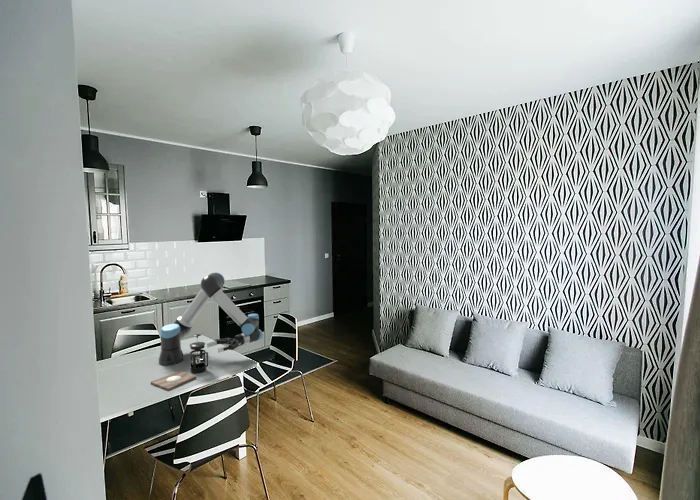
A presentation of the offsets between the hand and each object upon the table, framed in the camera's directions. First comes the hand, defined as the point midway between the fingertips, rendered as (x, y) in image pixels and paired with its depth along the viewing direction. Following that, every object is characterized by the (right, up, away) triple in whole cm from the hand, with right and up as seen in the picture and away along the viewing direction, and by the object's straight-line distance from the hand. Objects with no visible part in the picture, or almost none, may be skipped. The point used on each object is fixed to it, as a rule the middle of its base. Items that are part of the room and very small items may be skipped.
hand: (212, 347), depth 231 cm
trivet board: (-15, -14, -21) cm, 29 cm away
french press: (-6, -13, -6) cm, 15 cm away
